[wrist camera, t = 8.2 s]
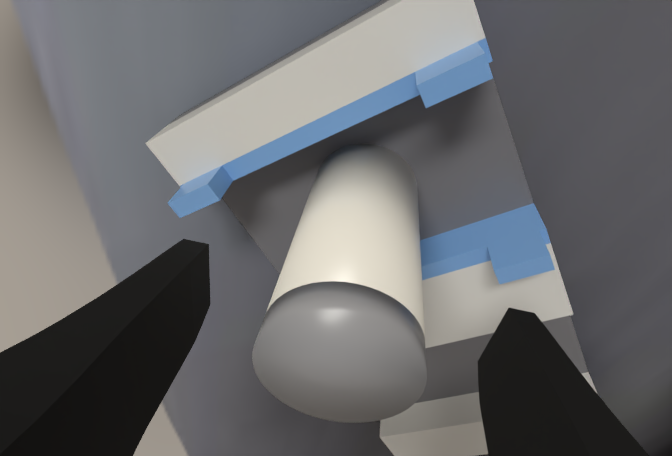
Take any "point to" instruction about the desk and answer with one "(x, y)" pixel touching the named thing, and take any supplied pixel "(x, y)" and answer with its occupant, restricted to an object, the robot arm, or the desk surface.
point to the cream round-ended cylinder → (350, 295)
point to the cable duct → (431, 176)
